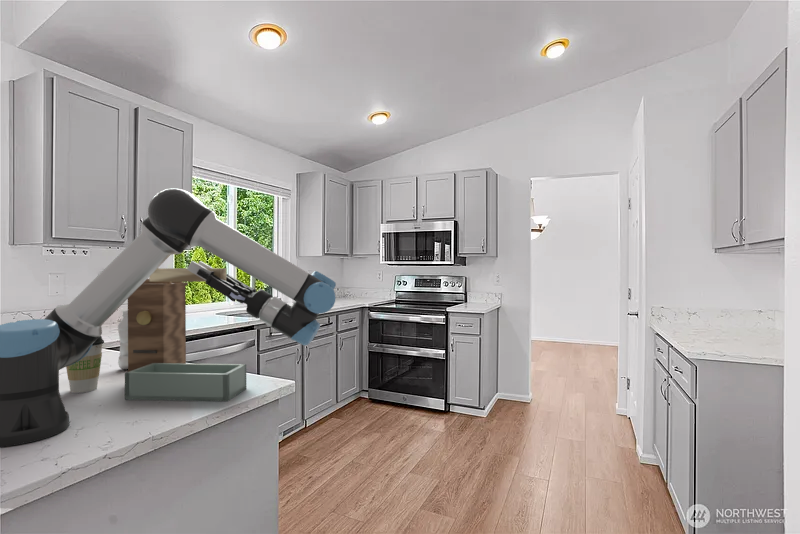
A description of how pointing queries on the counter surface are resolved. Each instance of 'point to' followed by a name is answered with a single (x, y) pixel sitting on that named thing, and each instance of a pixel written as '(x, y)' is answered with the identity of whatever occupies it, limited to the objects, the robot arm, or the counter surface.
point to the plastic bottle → (123, 341)
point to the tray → (185, 382)
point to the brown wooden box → (157, 324)
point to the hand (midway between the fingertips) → (194, 265)
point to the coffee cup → (86, 370)
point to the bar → (182, 275)
